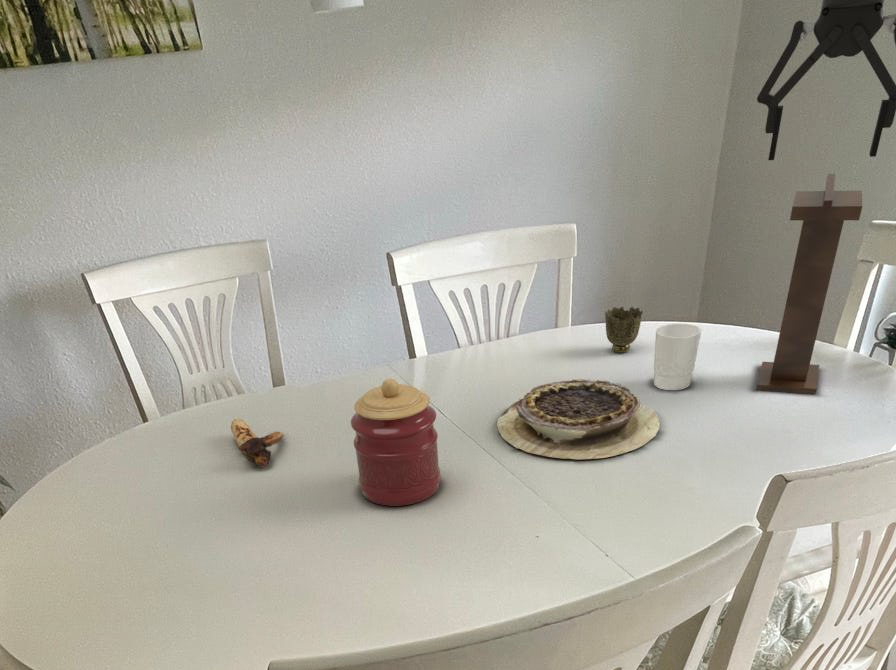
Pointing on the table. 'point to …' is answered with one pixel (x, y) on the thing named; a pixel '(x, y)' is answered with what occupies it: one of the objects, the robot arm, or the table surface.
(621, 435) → the pie
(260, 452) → the lashed bone hook
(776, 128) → the robot arm
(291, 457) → the table surface
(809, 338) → the stand
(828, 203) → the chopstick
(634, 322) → the cup
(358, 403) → the kitchen canister
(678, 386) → the white cup
